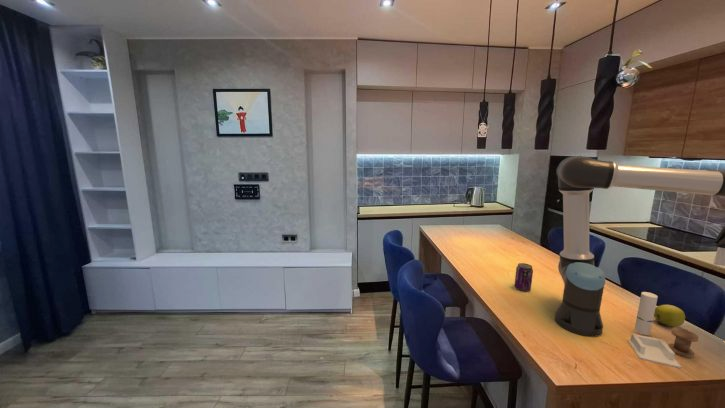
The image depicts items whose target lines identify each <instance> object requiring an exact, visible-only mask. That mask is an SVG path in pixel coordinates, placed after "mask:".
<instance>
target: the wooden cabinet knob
mask: <svg viewBox="0 0 725 408" xmlns="http://www.w3.org/2000/svg"><path fill="white" fill-rule="evenodd" d="M671 334H672V335H673V336H675V338H674V343H672V342H671V343H668V344H667V345H668V346H669V347H670V348H671V350H672V351H673V352H674V353H675V355H677V356H679V357H682V358H685V359H693V358H694V357H695V352H694V351H693V350H692V349H691V346H692V342H693V343H695V342H698V340H699V336H698V335H697V334H696V333H694V332H692V331H689V330H688V329H684V328H679V327H672V328H671Z"/></svg>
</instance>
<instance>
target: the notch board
mask: <svg viewBox="0 0 725 408" xmlns="http://www.w3.org/2000/svg"><path fill="white" fill-rule="evenodd" d="M627 342H628V344H629V345H630V347H631V348H632V350H633V351H634V353H635V354H636V355H637V357H638V359H639V360H644V361H647V362H651V363H656V364H657V363H658V364H660V365H661V364H662V365H665V366H669V367H674V368H678V369H682V366H681V365H680V363H679V362H678V361H677V360H676V359H675V355H676V354H675V353H674V352H673V351H672V350H671V348H670V347H669V346H668V345H669V344H667V343H666V341H665V340H664V339H660V338H656V337H650V336H648V335H643V334H637V333H631V336H630V339H629V338H627Z"/></svg>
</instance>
